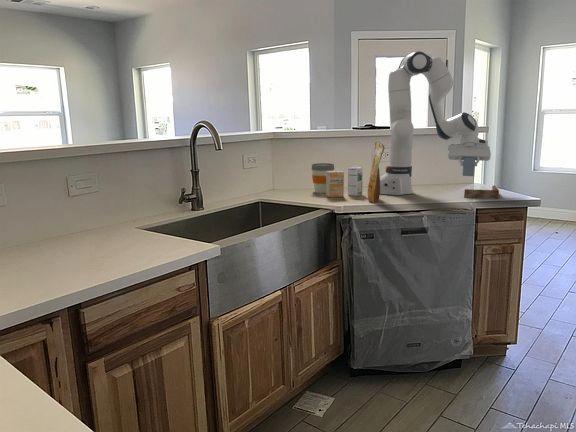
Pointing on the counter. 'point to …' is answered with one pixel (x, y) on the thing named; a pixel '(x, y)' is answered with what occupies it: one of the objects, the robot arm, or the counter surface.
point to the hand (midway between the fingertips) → (468, 165)
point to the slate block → (468, 166)
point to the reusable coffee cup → (320, 175)
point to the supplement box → (334, 184)
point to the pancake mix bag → (375, 174)
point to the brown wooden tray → (482, 193)
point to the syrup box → (355, 181)
